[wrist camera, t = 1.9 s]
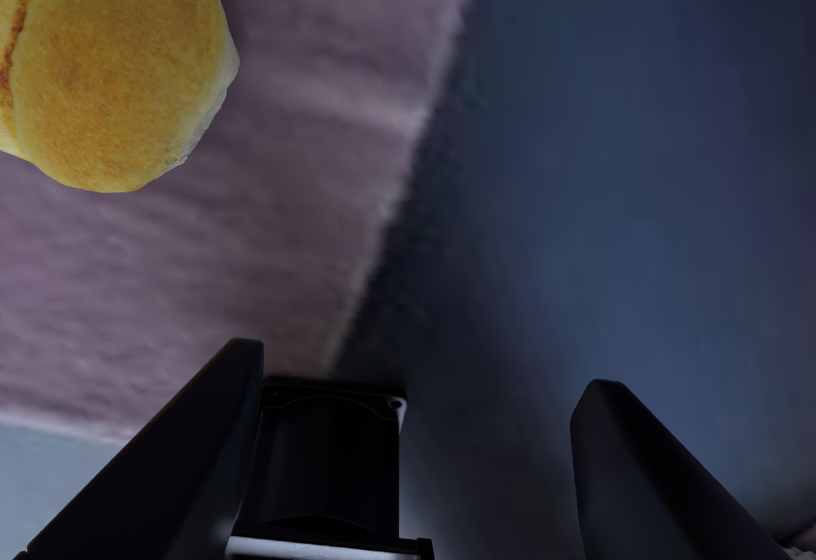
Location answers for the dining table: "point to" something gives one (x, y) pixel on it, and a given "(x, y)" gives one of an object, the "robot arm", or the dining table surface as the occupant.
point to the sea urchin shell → (799, 554)
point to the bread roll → (111, 85)
